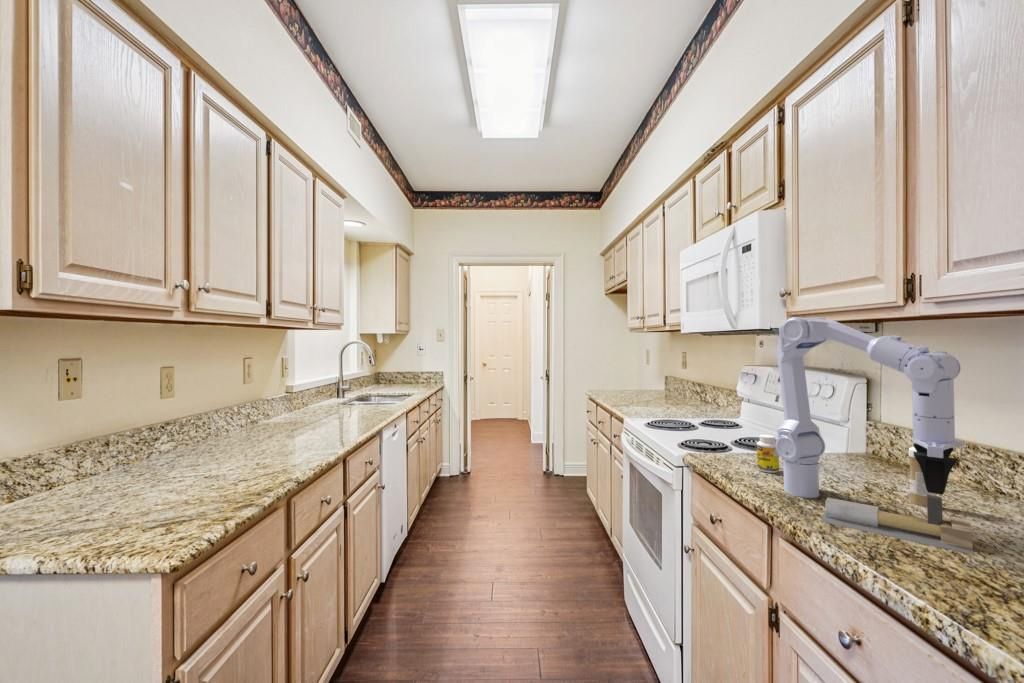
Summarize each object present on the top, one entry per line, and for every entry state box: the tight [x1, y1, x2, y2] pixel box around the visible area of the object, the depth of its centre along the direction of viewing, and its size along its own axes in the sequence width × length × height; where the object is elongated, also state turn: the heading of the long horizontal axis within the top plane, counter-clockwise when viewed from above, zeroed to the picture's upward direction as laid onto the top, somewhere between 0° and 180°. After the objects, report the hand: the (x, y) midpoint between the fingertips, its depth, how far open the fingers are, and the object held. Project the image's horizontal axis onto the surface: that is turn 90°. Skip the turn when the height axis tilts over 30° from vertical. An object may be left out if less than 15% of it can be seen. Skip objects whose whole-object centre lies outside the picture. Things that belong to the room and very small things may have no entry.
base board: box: [820, 509, 975, 555], centre depth 87 cm, size 10×22×1 cm, turn 48°
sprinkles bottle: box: [908, 446, 937, 508], centre depth 98 cm, size 5×5×14 cm
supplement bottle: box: [756, 434, 780, 474], centre depth 128 cm, size 6×6×10 cm
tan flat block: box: [877, 495, 952, 536], centre depth 85 cm, size 2×12×7 cm, turn 47°
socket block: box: [940, 516, 974, 549], centre depth 81 cm, size 5×4×4 cm
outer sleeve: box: [824, 497, 879, 528], centre depth 91 cm, size 3×8×3 cm, turn 48°
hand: (934, 487), depth 82 cm, fingers open, 7 cm apart
